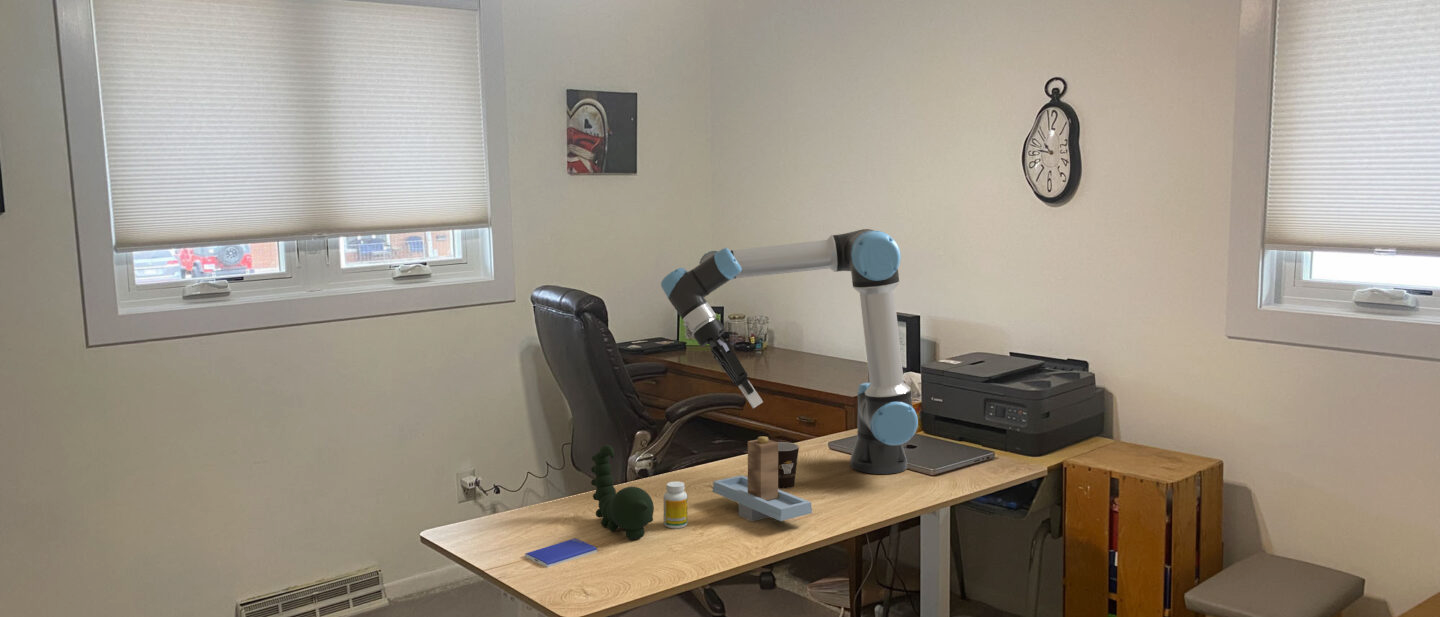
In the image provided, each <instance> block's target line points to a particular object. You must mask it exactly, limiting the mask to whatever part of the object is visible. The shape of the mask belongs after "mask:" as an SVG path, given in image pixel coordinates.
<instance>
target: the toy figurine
mask: <svg viewBox="0 0 1440 617" xmlns="http://www.w3.org/2000/svg"><path fill="white" fill-rule="evenodd" d="M614 458H615V449H614V448H613V447H612V445H609V444H604V445H602V446H601V447H600V449H599V451H598V452H597V453H595V454H594V455H592V457H591V461H592V462H594V463H595V464H594V465H593V466H591V468H590V472H592V473H593V474H594V475H595V478H594V479H591V481H590V483H591V486H595V488H596V489H595V492H594V493H593V495H592V498H593V500H595V501H598V508H597V510H595V516H596V517H597V518H598V519H599V518H601V521H600V524H601V527H603V528H608V531H610V532H616V531H617V530H618V529H619V528H620V529H622V530H625V537H626V538H627V539H628V540H631V541H635V540H639V539H641V538H643V537H644V535H645V532H646V530H645V527H646V526H647V525H648V524H650V523H652V522H653V520H654V516H653V515H654V512H655V510H654V509H655V508H654V502H653V499H652V498H651V496H650V494H649V493H648V492H647V491H646V490H644V489H643V488H641V487H638V486H627V487H623V488H622V489H620V490H618V491H616V488H615V487H614V478H613V476H612V474H611V473H612V465H611V464H610V459H614Z"/></svg>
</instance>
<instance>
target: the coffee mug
mask: <svg viewBox="0 0 1440 617" xmlns="http://www.w3.org/2000/svg"><path fill="white" fill-rule="evenodd" d="M777 442H778V489H789V488H793V487H794V486H795V482H796V480H795V479H796V475H797V474H796V473H797V465H798V457H799V448H800V446H799V445H798V444H796V443H794V442H793V443H792V442H786V441H785V442H784V441H777Z"/></svg>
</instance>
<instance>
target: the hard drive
mask: <svg viewBox="0 0 1440 617" xmlns="http://www.w3.org/2000/svg"><path fill="white" fill-rule="evenodd" d="M596 553H598V548H597V547H596V546H595V545H593V544H590V543H587V542H585V541H583V540H580V539H578V538H575V537H574V538H571V539H568V540H565V541H562V542H558V543H554V544H552V545H549V546H546V547H542V548H539V549H536V550H532V551H529V552H526V553H524V557H525V558H527V559H529V560H531V561H533V562H534V563H537V564H539V565H541V566H543V567H545V568H551V567H555V566H557V565H561V564H563V563H567V562H570V561H573V560H577V559H579V558H582V557H586V556H590V555H592V554H596Z"/></svg>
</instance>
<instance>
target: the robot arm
mask: <svg viewBox="0 0 1440 617" xmlns="http://www.w3.org/2000/svg"><path fill="white" fill-rule="evenodd" d="M901 258H902V257H901V250H900V247H899V245H898V244H897V242H896V240H895V239H894V238H893V237H892V236H891V235H889V234H888V233H885V232H883V231H879V230H874V229H869V228H866V229H865V228H864V229H859V230H855V231H850V232H846V233H841V234H840V233H839V234H833V235H830V236H829V237H828V238H827V239H823V240H812V241H805V242H804V241H803V242H795V243H794V242H793V243H785V244H775V245H767V246H757V247H748V248H747V247H746V248H741V249H732V250H731V249H729V248H728V247H724V248H721V249H720V250H719V251H718V250H711V251H707V253H704V255H702V257H701V258H700V261H699V264H698V265H696V266H695V267H694V268H693V269H691V270H689V271H688V270H686V269H685V268H684V267H679V268H676V269H675V270H672V271H670V273H668V274H667V275H666V276H664V277H663V278H662V280H661V282H660V287H661V289H662V291H663V292H664V294H665V295H666V297H667V299H668V300H669V302H670V303H671V305H672V306H673V308H674V309H675V311H676V312H677V314H678V315H679V316H680V318H681V319H682V320H683V326H684V327H687V328H688V330H689V332H690V333H693V338H694V339H695V341H696V342H697V344H698V345H699V346H700V347H705V346H706V345H709V347H710V349H711V350H710V353H711V354H712V355H713V359H715V361H716V362H717V363H718V364H719V365H720V367H721V368H722V369H723V370H724V372H725V373H726V375H727V377H729V379H730V380H731V382H732V383H733V385H735V386H736V387H738V388H739V390H740V391H741V393H742V394H743V396H744V398H745V399H746V401H747V402H749V405H750V406H751V408H752V409H753V410H754V409H755V408H757V407H758V406H760V405H761V404H762V403H764V401H763V399H762V397H761V396H760V395H759V393H758V392H757V390H756V389H755V388H754V386H753V385H752V383H751V381H750V378H749V374H748V373H747V372H746V370H745V368H744V366H743V365H742V364H741V361H740V360H739V359H738V357H737V355H736V353H735V351H734V350H733V347H732V346H731V343H730V342H729V341H727V340H726V339H724V338H723V337H722V335H723V334H724V333H725V332H726V327H724V325H723V323H722V322H721V321H720V319H719V318H716V317H717V314H716V313H715V311H714V310H713V308H712V307H711V305H710V303H709V302H708V301H707V300H706V297H707V296H708V295H710V294H711V293H713V292H714V291H716V290H718V289H719V288H720V287H721V286H723V285H725V284H727V283H728V282H729V281H731V280H733V279H742V278H753V277H762V276H763V277H764V276H772V275H782V274H783V275H784V274H790V273H800V272H808V271H811V272H812V271H818V270H819V271H820V270H828V269H830V270H832V271H833V272H850V273H851V274H850V276H851V281H852V282H851V283H852V288H853V289H854V290H856V291H857V292H858V293H859V298H860V299H859V300H860V308H861V317H862V318H861V319H862V327H863V334H864V344H865V352H866V361H867V370H868V381H869V382H863V383H861V384H859V385H858V387H857V388H858V389H857V394H856V396H857V438H856V441H855V444H854V445H853V446H854V447H853V450H852V453H851V456H850V462H849V463H850V465H849V466H850V467H851V468H852V469H854V470H855V471H858V472H862V473H866V474H872V475H873V474H875V475H890V474H892V475H893V474H898V473H902V472H904V471H906V470H907V469H908V458H907V456H906V452H905V449H904V445H903V444H905V443H907V442H909V441H910V440H911V439H912V438H913V437H914V435H915V434H916V432H917V430H918V426H919V419H918V415H917V412H916V410H915V408H914V407H913V399H912V390H911V387H910V386H909V385H908V384H907V383H905V380H904V370H903V362H902V360H903V359H902V352H901V342H900V341H901V340H900V336H899V335H900V334H899V333H900V332H899V325H898V323H899V322H898V315H897V305H896V295H895V289H896V287H897V286H898V284H900V274H899V267H900V265H901V264H900V263H901ZM906 466H907V467H906Z"/></svg>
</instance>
